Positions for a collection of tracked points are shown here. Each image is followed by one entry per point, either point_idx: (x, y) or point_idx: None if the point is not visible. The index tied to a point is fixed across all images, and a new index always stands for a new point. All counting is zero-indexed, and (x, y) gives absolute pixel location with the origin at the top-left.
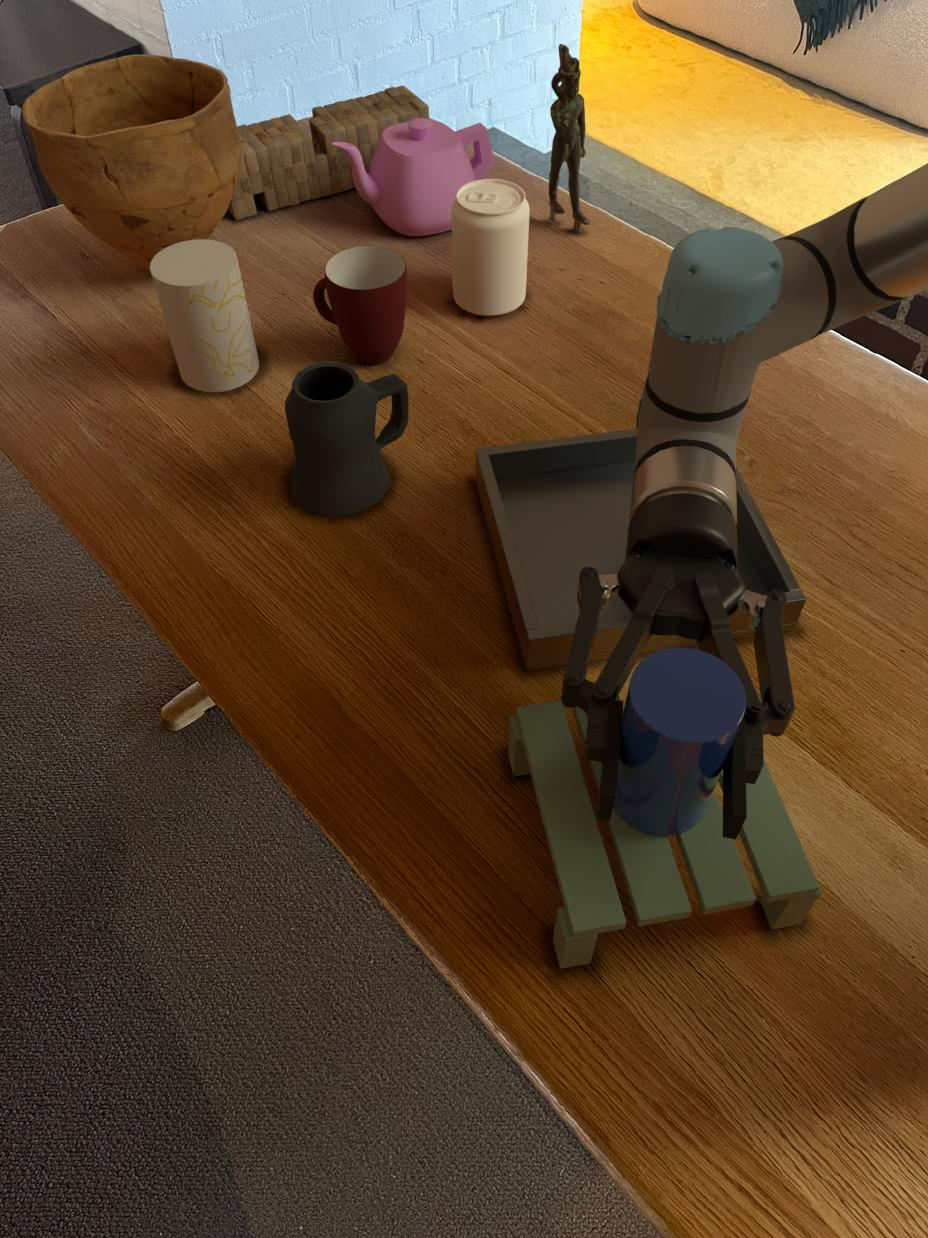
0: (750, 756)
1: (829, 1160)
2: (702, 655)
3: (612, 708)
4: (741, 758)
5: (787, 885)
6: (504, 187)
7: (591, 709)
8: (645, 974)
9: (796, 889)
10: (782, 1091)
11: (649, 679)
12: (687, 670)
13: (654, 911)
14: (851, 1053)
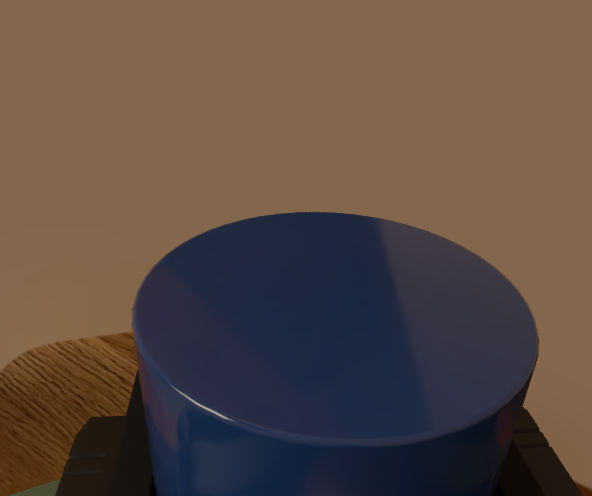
0: (106, 451)
1: (81, 370)
2: (305, 415)
3: (521, 470)
4: (141, 400)
5: (51, 492)
6: None
7: (575, 494)
8: None
9: (37, 488)
10: (112, 407)
11: (469, 306)
12: (353, 352)
13: None
14: (15, 453)
